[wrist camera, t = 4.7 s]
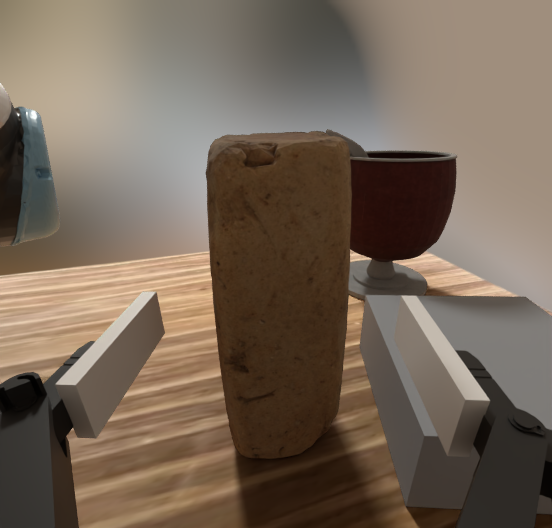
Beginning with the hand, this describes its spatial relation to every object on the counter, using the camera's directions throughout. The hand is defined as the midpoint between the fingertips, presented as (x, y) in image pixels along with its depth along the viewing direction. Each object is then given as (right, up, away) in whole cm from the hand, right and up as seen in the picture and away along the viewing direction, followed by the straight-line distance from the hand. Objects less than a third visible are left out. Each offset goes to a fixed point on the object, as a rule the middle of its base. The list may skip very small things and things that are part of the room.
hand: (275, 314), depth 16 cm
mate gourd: (+14, 0, +27) cm, 30 cm away
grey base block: (+15, -8, +7) cm, 19 cm away
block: (0, -9, +8) cm, 12 cm away
